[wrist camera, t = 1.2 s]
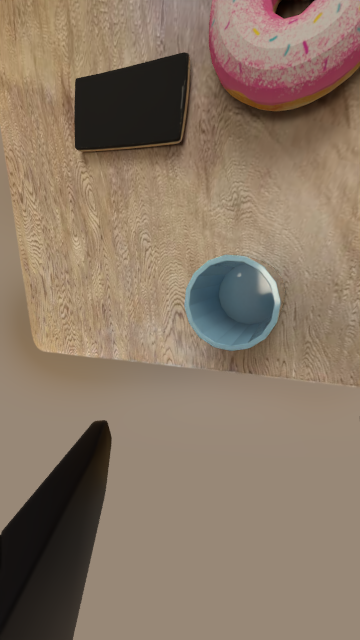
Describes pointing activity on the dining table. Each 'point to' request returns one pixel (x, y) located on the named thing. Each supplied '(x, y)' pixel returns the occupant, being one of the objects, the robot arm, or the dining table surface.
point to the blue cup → (234, 301)
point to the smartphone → (133, 105)
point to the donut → (283, 50)
